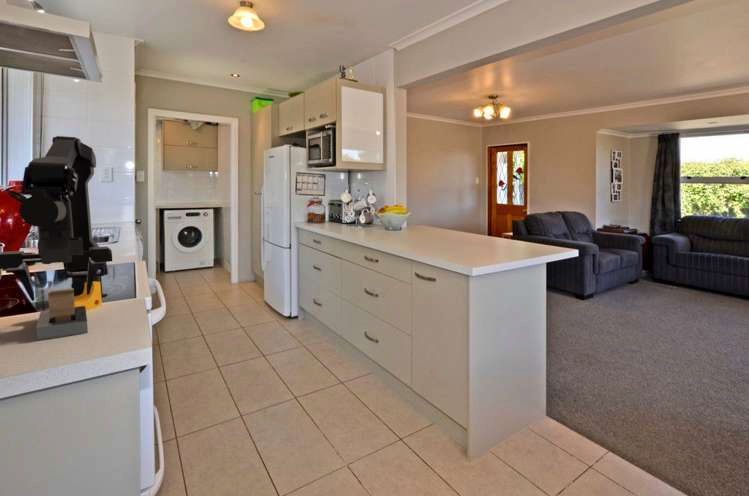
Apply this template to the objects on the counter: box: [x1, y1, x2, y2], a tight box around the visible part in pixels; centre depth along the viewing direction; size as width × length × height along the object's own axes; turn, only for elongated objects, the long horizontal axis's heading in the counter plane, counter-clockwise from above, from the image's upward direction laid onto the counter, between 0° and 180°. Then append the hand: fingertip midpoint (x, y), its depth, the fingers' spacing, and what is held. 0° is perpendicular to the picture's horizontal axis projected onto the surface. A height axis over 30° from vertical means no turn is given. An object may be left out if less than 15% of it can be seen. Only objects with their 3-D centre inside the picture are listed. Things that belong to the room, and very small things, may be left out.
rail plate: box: [35, 306, 89, 341], centre depth 86 cm, size 14×8×2 cm, turn 37°
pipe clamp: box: [47, 281, 103, 312], centre depth 97 cm, size 12×4×6 cm, turn 173°
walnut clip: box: [48, 287, 75, 323], centre depth 86 cm, size 8×4×8 cm, turn 37°
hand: (61, 297), depth 85 cm, fingers open, 9 cm apart
